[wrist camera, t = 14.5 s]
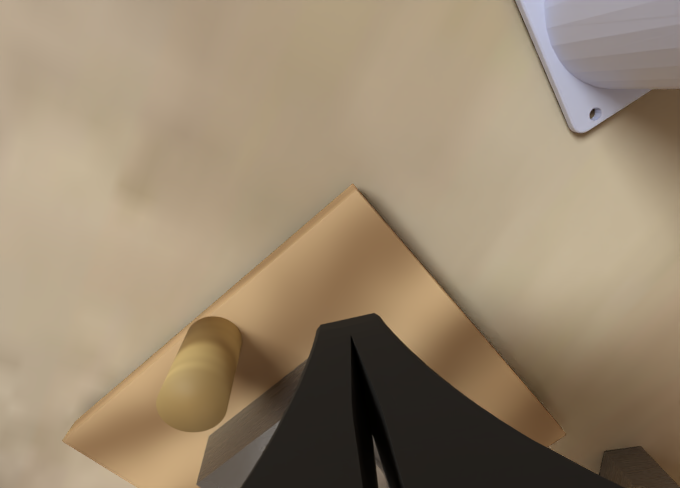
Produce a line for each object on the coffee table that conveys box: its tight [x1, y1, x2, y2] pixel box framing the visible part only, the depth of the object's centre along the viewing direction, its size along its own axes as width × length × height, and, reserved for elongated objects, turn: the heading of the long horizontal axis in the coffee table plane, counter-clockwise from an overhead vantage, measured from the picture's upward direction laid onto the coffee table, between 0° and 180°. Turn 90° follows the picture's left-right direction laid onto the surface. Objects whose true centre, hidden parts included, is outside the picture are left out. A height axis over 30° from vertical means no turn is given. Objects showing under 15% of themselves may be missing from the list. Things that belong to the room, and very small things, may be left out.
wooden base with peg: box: [62, 184, 566, 488], centre depth 19 cm, size 18×18×5 cm
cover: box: [196, 359, 389, 488], centre depth 19 cm, size 9×9×3 cm
